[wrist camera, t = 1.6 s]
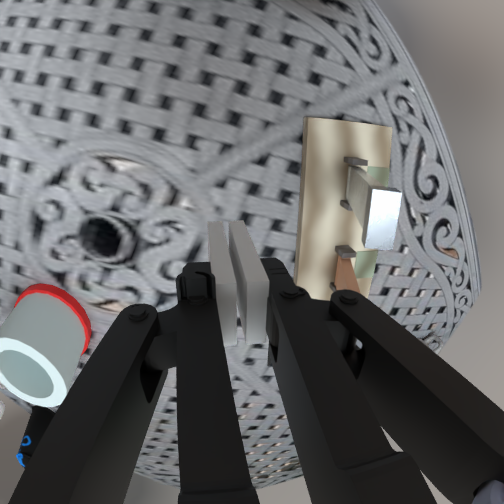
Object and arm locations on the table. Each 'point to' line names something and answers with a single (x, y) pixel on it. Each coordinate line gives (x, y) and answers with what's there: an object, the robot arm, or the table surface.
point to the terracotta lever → (346, 279)
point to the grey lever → (373, 208)
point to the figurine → (0, 405)
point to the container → (43, 344)
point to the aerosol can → (34, 433)
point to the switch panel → (335, 201)
